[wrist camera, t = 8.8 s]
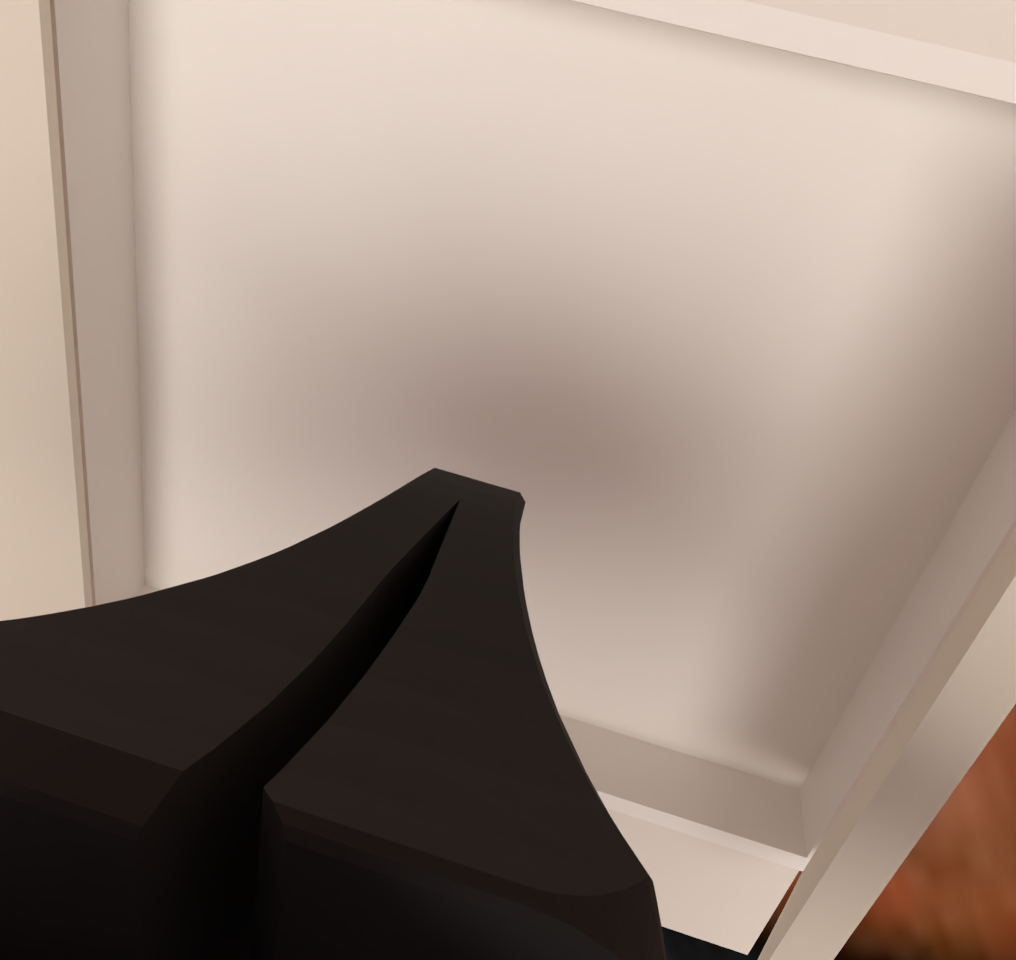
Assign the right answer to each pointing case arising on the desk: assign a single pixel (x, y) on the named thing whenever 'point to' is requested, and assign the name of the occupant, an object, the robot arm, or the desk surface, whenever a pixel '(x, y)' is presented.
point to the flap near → (909, 773)
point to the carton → (576, 350)
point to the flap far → (36, 338)
